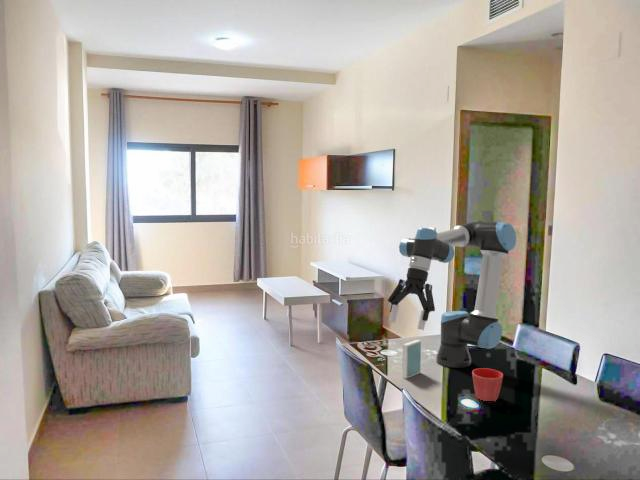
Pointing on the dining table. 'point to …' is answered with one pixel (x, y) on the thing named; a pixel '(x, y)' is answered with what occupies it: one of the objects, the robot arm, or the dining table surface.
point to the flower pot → (487, 383)
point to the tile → (411, 358)
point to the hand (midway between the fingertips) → (405, 325)
